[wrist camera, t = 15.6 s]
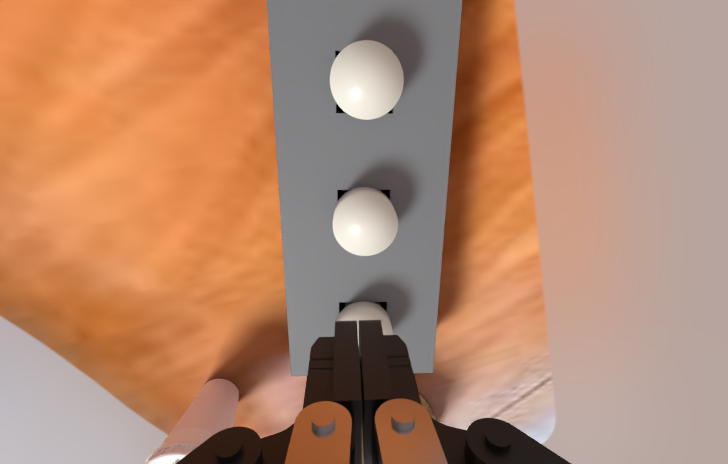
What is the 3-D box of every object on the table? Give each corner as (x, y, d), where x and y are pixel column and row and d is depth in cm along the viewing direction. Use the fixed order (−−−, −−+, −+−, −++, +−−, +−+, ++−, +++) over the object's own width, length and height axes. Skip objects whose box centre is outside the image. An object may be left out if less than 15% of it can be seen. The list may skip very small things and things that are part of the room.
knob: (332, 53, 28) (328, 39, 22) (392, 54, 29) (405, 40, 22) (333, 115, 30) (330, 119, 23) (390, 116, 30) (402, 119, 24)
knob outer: (336, 275, 34) (334, 315, 28) (385, 275, 34) (394, 314, 28) (337, 318, 36) (335, 366, 29) (384, 318, 36) (392, 364, 29)
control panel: (279, 11, 28) (266, -7, 23) (443, 14, 28) (462, -3, 24) (298, 341, 37) (291, 376, 32) (421, 338, 37) (432, 372, 33)
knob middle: (334, 174, 31) (331, 193, 25) (388, 174, 31) (399, 193, 25) (335, 226, 33) (333, 256, 26) (387, 225, 33) (397, 255, 26)
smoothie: (249, 365, 38) (196, 509, 24) (256, 417, 40) (211, 575, 26) (182, 368, 37) (92, 515, 24) (193, 420, 39) (116, 582, 26)
